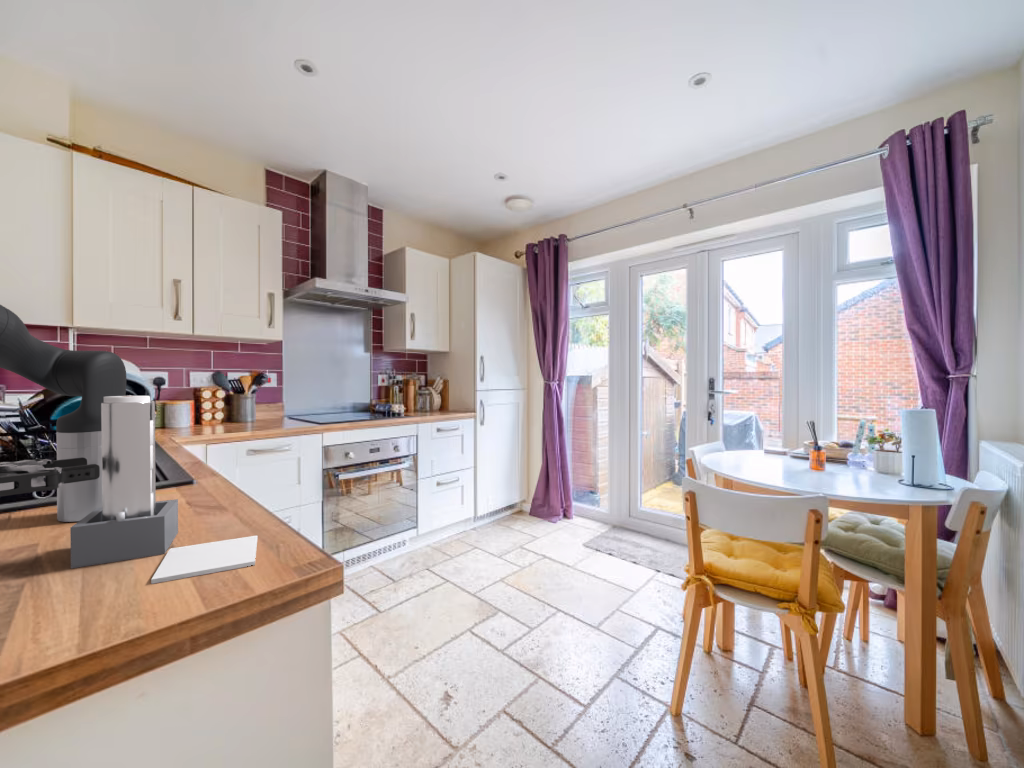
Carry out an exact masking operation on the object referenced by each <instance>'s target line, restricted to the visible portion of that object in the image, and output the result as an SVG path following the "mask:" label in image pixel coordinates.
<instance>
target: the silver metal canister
mask: <svg viewBox="0 0 1024 768" xmlns="http://www.w3.org/2000/svg"><path fill="white" fill-rule="evenodd" d="M155 405H156V401H155V400H151V396H150V395H131V394H129V395H128V394H126V395H125V396H108V397H104V402H102V403H101V431H102V522H104V521H112V520H116V513H118V512H125V519H129V518H137V517H146V516H154V515H156V502H157V500H156V498H157V496H156V493H157V492H156V406H155Z"/></svg>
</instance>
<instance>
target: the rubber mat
mask: <svg viewBox="0 0 1024 768" xmlns="http://www.w3.org/2000/svg"><path fill="white" fill-rule="evenodd" d="M258 537H259V536H258V535H250V536H243V537H238V538H231V539H223V540H217V541H211V542H204V543H197V544H192V545H191V544H190V545H185V546H179V547H172V548H170V547H169V549H168V550H167V552H166V553H165V556H164V558H163V559H162V561H161V563H160V564H159V565H158V568H157V569H156V571H155V573H154V574H153V575H152V578H151V579H150V583H151V585H152V584H153V585H154V584H159V583H165V582H170V581H176V580H181V579H186V578H192V577H197V576H202V575H208V574H214V573H219V572H225V571H231V570H236V569H240V568H247V566H248V567H252V566H251V565H253V566H255V565H256V559H257V558H256V557H257V548H258V547H257V546H258ZM255 558H256V559H255Z"/></svg>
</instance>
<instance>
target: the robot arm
mask: <svg viewBox="0 0 1024 768" xmlns="http://www.w3.org/2000/svg"><path fill="white" fill-rule="evenodd" d="M0 368H1V369H2V370H6V371H9V372H11V373H14V374H15V375H16V374H17V375H19V376H20V377H22V378H25V379H26V380H29V381H30V382H33V383H35V384H36V385H39V386H40V387H43V388H44V389H47V390H49V391H51V392H53V393H55V394H58V395H62V396H66V397H81V399H80V404H79V407H78V408H76V409H75V410H73V411H71V412H70V413H67V414H64V415H62V416H59V417H57V420H56V424H55V425H56V426H55V430H56V435H55V436H56V460H52V459H47V458H45V459H44V458H34V459H24V460H19V461H3V462H0V498H1V497H6V496H13V495H21V494H29V493H35V492H42V491H43V492H44V491H54V490H56V510H57V511H56V516H57V518H56V520H57V521H58V522H66V523H68V522H69V523H70V522H71V523H72V522H79V521H80V520H81V519H83V518H84V517H86V516H87V515H88V514H90V513H91V512H92V511H94V510H95V509H96V508H101V507H102V431H101V403H102V402H104V397H108V396H126V395H127V394H126V393H127V372H126V371H127V370H126V366H125V362H124V361H123V360H122V358H121V357H120V356H119V355H118V354H116V353H115V352H112V351H106V350H74V349H73V350H72V349H64V348H62V347H58V346H55V345H53V344H49V343H47V342H45V341H42V340H41V339H39V338H36V337H35V336H33V335H32V334H31V333H30V332H29V330H28V327H27V326H26V324H25V322H23V320H22V319H21V318H20V317H19V316H18V315H17V314H16V313H15V312H14V311H12V310H10V309H9V308H7V307H6V306H3V305H2V304H0ZM44 478H45V479H44Z"/></svg>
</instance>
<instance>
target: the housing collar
mask: <svg viewBox="0 0 1024 768" xmlns="http://www.w3.org/2000/svg"><path fill="white" fill-rule="evenodd" d="M178 533H179V499H178V498H177V499H169V500H156V515H154V516H146V517H137V518H129V519H125V512H118V513H116V520H112V521H104V522H102V507H101V508H96V509H95V510H94V511H92V512H91V513H90V514H88V515H87V516H86V517H84V518H83V519H81V520H80V521H76V523H75V524H73V525H72V526H70V569H75V568H76V569H77V568H83V567H84V568H85V567H90V566H96V565H102V564H108V563H109V564H110V563H114V562H121V561H128V560H134V559H135V560H136V559H141V558H147V557H153V556H161V555H166V554H167V552H168V551H169V549H170V546H171V545H172V543H173V542H174V540H175V539H176V537H177V535H178Z"/></svg>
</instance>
